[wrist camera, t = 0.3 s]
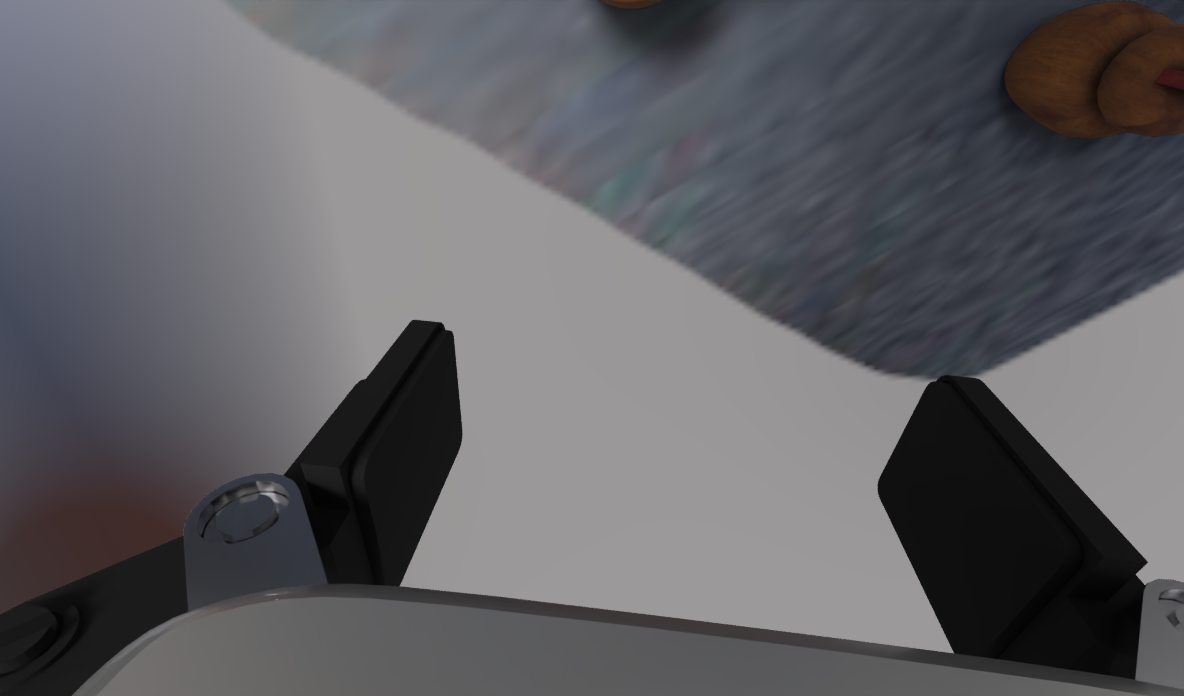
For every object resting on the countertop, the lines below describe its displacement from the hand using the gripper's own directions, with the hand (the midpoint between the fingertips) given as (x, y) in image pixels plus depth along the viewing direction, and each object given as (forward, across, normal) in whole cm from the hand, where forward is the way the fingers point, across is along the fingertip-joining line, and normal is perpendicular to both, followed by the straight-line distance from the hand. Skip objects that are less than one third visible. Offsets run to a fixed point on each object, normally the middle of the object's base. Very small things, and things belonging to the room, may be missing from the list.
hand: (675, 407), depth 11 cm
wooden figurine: (+31, -23, -6) cm, 39 cm away
